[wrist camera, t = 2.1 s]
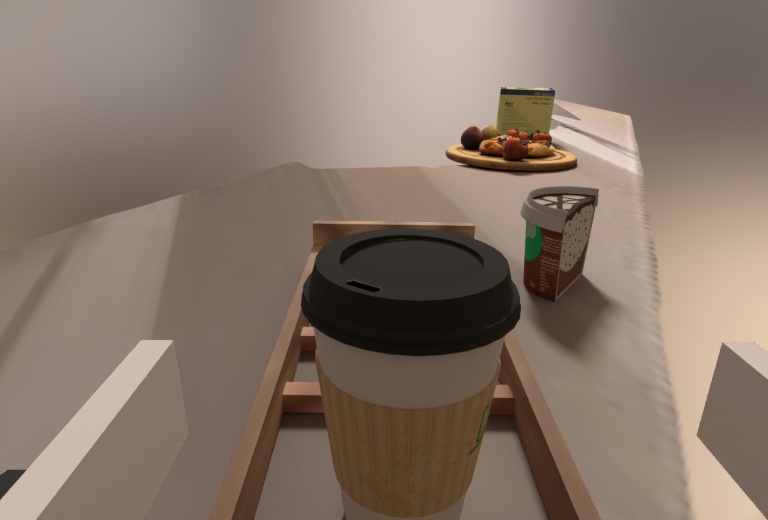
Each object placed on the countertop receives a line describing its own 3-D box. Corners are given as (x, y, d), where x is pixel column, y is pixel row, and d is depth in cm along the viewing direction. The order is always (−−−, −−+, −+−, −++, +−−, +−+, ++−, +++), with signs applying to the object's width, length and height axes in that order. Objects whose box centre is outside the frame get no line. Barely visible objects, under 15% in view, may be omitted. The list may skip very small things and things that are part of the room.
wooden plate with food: (568, 179, 108) (575, 140, 105) (427, 164, 120) (430, 128, 117) (581, 158, 136) (586, 126, 133) (465, 147, 148) (467, 118, 145)
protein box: (548, 145, 150) (556, 89, 144) (494, 142, 153) (500, 88, 147) (545, 140, 160) (552, 87, 154) (495, 137, 163) (499, 86, 157)
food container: (536, 258, 64) (546, 180, 60) (585, 270, 61) (600, 187, 57) (494, 291, 55) (503, 201, 51) (550, 307, 51) (564, 212, 48)
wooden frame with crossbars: (201, 622, 22) (183, 521, 20) (315, 269, 60) (313, 220, 57) (609, 626, 22) (637, 527, 20) (469, 272, 60) (473, 223, 57)
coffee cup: (519, 493, 29) (556, 249, 24) (438, 645, 22) (464, 338, 16) (378, 427, 34) (381, 213, 29) (272, 531, 27) (248, 267, 21)
